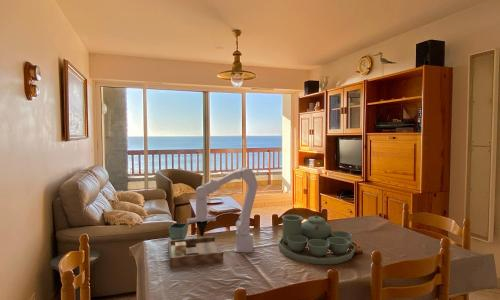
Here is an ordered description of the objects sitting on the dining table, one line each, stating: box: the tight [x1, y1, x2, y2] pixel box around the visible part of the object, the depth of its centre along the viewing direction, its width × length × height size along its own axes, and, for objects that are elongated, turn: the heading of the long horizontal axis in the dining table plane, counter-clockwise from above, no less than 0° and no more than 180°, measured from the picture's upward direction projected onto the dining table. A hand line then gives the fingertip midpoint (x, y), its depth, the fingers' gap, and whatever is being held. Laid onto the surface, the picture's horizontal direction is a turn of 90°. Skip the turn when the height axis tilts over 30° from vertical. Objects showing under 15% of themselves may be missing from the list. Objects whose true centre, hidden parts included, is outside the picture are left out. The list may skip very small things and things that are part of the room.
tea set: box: [278, 214, 356, 265], centre depth 167 cm, size 40×40×16 cm
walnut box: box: [167, 235, 224, 268], centre depth 159 cm, size 25×24×4 cm
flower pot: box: [168, 222, 189, 240], centre depth 179 cm, size 9×9×9 cm
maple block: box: [175, 242, 186, 254], centre depth 157 cm, size 5×5×4 cm
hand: (201, 235), depth 161 cm, fingers closed
